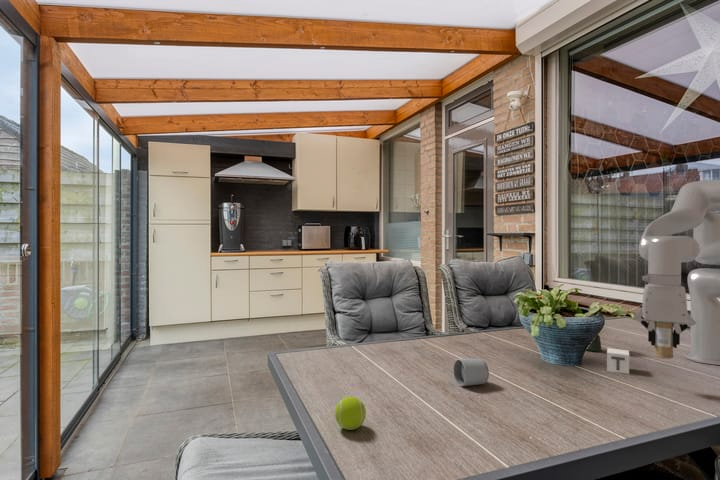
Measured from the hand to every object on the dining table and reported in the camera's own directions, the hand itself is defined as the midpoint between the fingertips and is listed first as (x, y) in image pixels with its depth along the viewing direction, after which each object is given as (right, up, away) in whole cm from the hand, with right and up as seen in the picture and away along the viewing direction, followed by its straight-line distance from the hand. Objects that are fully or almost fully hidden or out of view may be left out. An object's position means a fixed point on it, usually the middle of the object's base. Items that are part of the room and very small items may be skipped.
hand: (663, 345), depth 120 cm
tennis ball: (-88, -14, -23) cm, 91 cm away
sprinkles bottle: (0, -4, 0) cm, 4 cm away
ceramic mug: (-53, -13, +6) cm, 55 cm away
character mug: (+2, -12, +41) cm, 42 cm away
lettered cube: (-2, -12, +18) cm, 22 cm away
